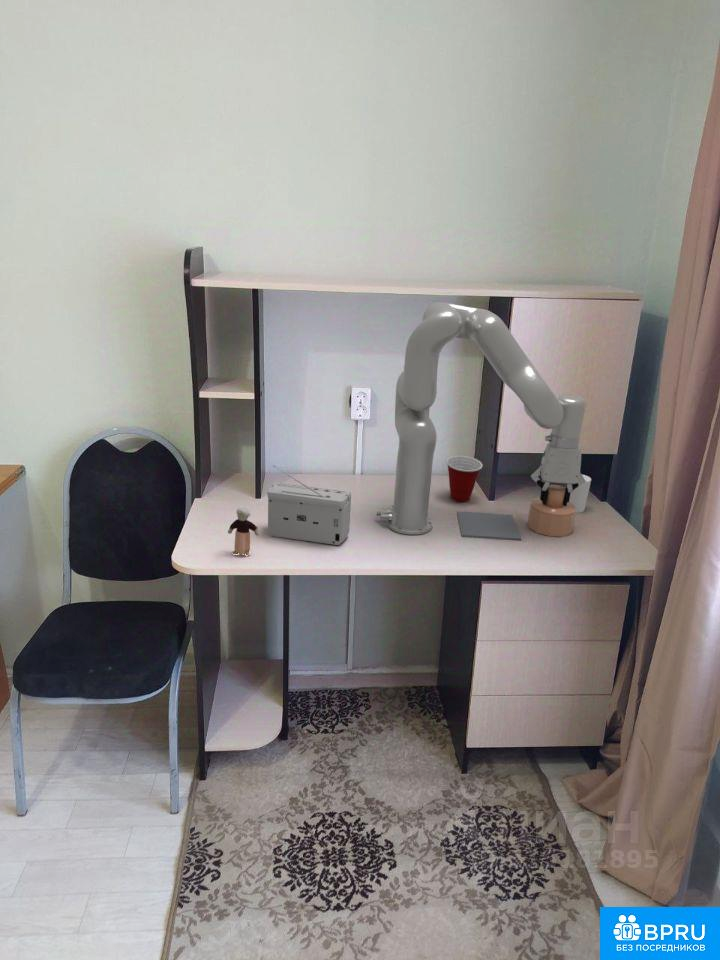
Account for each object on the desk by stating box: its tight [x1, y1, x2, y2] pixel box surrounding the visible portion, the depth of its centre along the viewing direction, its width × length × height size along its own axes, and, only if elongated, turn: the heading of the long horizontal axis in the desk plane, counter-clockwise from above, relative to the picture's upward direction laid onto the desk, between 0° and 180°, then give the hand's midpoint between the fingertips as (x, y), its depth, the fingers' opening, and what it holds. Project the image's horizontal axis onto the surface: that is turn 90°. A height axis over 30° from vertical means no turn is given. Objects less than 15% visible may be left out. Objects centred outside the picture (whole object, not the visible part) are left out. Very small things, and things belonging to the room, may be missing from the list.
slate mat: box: [456, 510, 522, 541], centre depth 203 cm, size 16×16×1 cm
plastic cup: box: [446, 455, 483, 503], centre depth 219 cm, size 11×11×12 cm
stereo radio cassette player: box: [267, 464, 352, 546], centre depth 188 cm, size 21×8×20 cm, turn 78°
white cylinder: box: [569, 474, 592, 514], centre depth 217 cm, size 7×7×10 cm
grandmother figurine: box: [227, 506, 260, 555], centre depth 178 cm, size 8×4×13 cm, turn 95°
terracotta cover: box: [527, 484, 576, 537], centre depth 203 cm, size 12×12×12 cm
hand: (553, 502), depth 202 cm, fingers closed on terracotta cover, 5 cm apart
